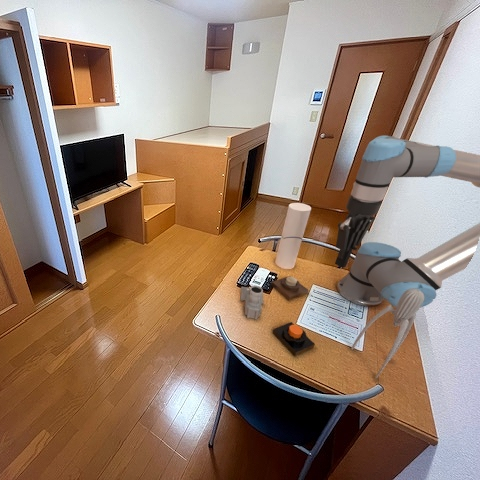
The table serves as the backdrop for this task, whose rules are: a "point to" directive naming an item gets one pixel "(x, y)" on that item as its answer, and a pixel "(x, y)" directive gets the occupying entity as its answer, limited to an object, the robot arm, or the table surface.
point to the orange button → (295, 331)
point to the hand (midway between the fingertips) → (340, 265)
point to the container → (292, 234)
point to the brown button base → (289, 289)
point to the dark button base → (293, 340)
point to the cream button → (291, 281)
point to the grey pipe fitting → (252, 300)
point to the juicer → (399, 319)
